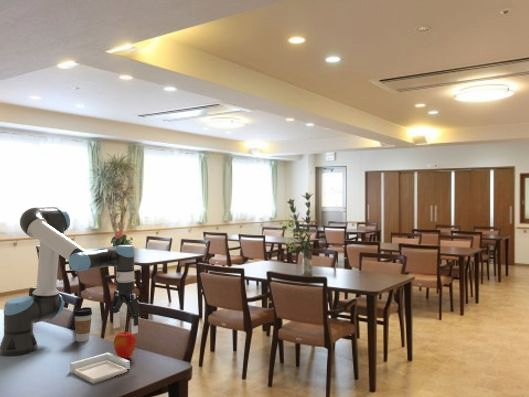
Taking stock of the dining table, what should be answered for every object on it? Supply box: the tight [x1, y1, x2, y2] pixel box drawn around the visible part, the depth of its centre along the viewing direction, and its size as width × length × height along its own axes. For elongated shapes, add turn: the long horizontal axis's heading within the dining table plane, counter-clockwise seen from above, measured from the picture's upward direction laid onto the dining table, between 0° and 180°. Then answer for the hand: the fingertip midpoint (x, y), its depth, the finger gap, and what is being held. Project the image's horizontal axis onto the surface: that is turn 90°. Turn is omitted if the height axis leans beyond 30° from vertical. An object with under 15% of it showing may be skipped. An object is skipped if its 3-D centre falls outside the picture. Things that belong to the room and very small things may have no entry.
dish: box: [73, 360, 128, 384], centre depth 180 cm, size 14×14×2 cm
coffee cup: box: [73, 306, 93, 343], centre depth 223 cm, size 8×8×15 cm
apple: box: [113, 331, 137, 360], centre depth 198 cm, size 9×9×12 cm
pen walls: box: [69, 352, 131, 374], centre depth 183 cm, size 16×17×4 cm
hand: (125, 330), depth 198 cm, fingers open, 13 cm apart
